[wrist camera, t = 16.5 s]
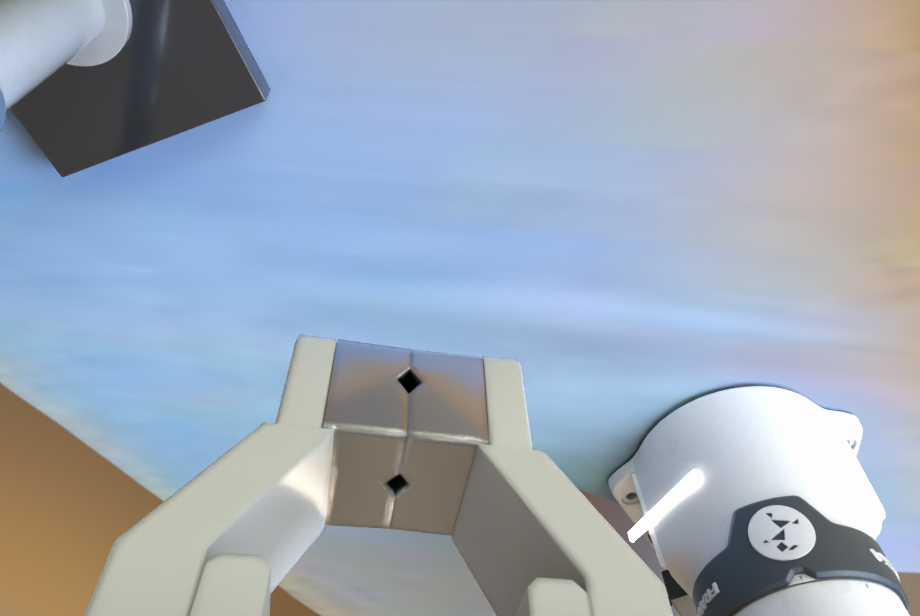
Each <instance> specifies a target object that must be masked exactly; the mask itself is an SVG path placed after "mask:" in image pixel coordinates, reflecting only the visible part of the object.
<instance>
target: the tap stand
mask: <svg viewBox="0 0 920 616" xmlns="http://www.w3.org/2000/svg"><path fill="white" fill-rule="evenodd" d="M0 87H1V89H2V92H3V95H4V99H5V104H6V111H7V110H8V109H10V110H11V111H12V113H13V114H14V115H15V116H16V118H17V119H18V120H19V122H20V123H21V124H22V126H23V127H24V128H25V130H26V131H27V132H28V133H29V135H30V136H31V137H32V139H33V140H34V141H35V143H36V144H37V145H38V147H39V148H40V149H41V150H42V152H43V153H44V154H45V156H46V157H47V158H48V160H49V161H50V162H51V164H52V165H53V166H54V167H55V169H56V170H57V171H58V173H59V174H60V175H61V176H62V177H65V176H68V175H71V174H73V173H76V172H78V171H81V170H84V169H86V168H89V167H92V166H94V165H97V164H100V163H102V162H105V161H108V160H110V159H113V158H116V157H118V156H121V155H123V154H126V153H129V152H131V151H134V150H137V149H139V148H142V147H145V146H147V145H150V144H153V143H155V142H158V141H161V140H163V139H166V138H168V137H171V136H174V135H176V134H179V133H182V132H184V131H187V130H190V129H192V128H195V127H198V126H200V125H203V124H205V123H208V122H211V121H213V120H216V119H219V118H221V117H224V116H227V115H229V114H232V113H235V112H237V111H240V110H243V109H245V108H248V107H250V106H253V105H256V104H258V103H261V102H264V101H265V100H266V99H267V97H268V95H269V93H270V88H269V86H268V84H267V82H266V80H265V79H264V77H263V75H262V73H261V71H260V69H259V67H258V65H257V63H256V61H255V60H254V58H253V56H252V54H251V52H250V50H249V48H248V46H247V44H246V42H245V41H244V39H243V37H242V35H241V33H240V31H239V29H238V27H237V25H236V23H235V22H234V20H233V18H232V16H231V14H230V12H229V10H228V8H227V6H226V4H225V3H224V1H223V0H0Z"/></svg>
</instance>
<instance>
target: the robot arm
mask: <svg viewBox="0 0 920 616" xmlns="http://www.w3.org/2000/svg"><path fill="white" fill-rule="evenodd" d="M862 434H863V428H862V426H861V424H860V422H859V420H858V418H857V417H856V416H854V415H852V414H849V413H845V412H840V411H834V410H827V409H824V408H822V407H820V406H818V405H816V404H815V403H813V402H812V401H811V400H809V399H808V398H806V397H804V396H802V395H800V394H798V393H795V392H793V391H790V390H786V389H782V388H777V387H768V386H747V387H738V388H731V389H726V390H722V391H718V392H715V393H711V394H708V395H705V396H703V397H700V398H698V399H695V400H693V401H691V402H689V403H687V404H685V405H683V406H681V407H680V408H678V409H676V410H675V411H673V412H672V413H670V414H669V415H668V416H666V417H665V418H664V419H662V420H661V421H660V422H659V423H658V424H657V425H656V426H655V427H654V428H653V429H652V430H651V431H650V432H649V434H648V435H647V436H646V438H645V439H644V441H643V442H642V444H641V446H640V447H639V449H638V451H637V453H636V454H635V455H634V457H633V458H632V459H631V460H630V461H628V462H627V463H626V464H624V465H623V466H622V467H620V468H619V469H618V470H617V471H616V472H614V473H613V474H612V475H611V477H610V478H609V480H608V484H609V487H610V490H611V492H612V494H613V496H614V497H615V499H616V500H617V501H618V503H619V504H620V505H621V507H622V508H623V509H624V511H625V512H626V514H627V515H628V516H629V518H630V519H631V520H632V521H633V523H634V524H635V526H634V527H633V528H632V529H631V530H630V531H629V532H628V535H629V539H630V541H631V542H635V541H636V540H637V539H638V538H639V537H640V536H641V535H643V537H644V538H645V539H646V541H647V542H648V543H649V545H650V546H651V548H652V549H653V550H654V551H655V553H656V554H657V557H658V560H659V563H660V565H661V567H662V568H663V569H666V570H665V571H662V575H663V579H664V582H665V585H664V584H663V583H662V581H661V580H660V579H659V578H658V577H657V576H656V575H655V574H654V573H653V572H652V570H651V569H650V568H649V567H648V566H647V565H646V564H645V563H644V562H643V560H642V559H641V558H640V557H639V556H638V555H637V554H636V553H635V552H634V551H633V549H632V548H631V547H630V546H629V545H628V544H627V543H626V542H625V541H624V540H623V538H622V537H621V536H620V535H619V534H618V533H617V532H616V531H615V529H614V528H613V527H612V526H611V525H610V524H609V523H608V522H607V521H606V520H605V518H604V517H603V516H602V515H601V514H600V513H599V512H598V511H597V510H596V508H594V506H593V505H592V504H591V503H590V502H589V501H588V500H587V499H586V497H585V496H584V495H583V494H582V493H581V492H580V491H579V490H578V489H577V487H576V486H575V485H574V484H573V483H572V482H571V481H570V480H569V479H568V478H567V476H566V475H565V474H564V473H563V472H562V471H561V470H560V469H559V468H558V466H557V465H556V464H555V463H554V462H553V461H552V460H551V459H550V458H549V457H548V455H547V454H546V453H545V452H544V451H542V450H533V449H532V443H531V436H530V429H529V422H528V414H527V407H526V400H525V393H524V386H523V379H522V372H521V365H520V363H519V362H518V361H517V360H514V359H503V358H493V357H481V358H480V357H476V356H466V355H457V354H448V353H439V352H430V351H421V350H411V349H404V348H397V347H390V346H383V345H375V344H368V343H361V342H354V341H346V340H339V339H338V342H337V340H335V339H327V338H320V337H313V336H305V335H299V337H298V339H297V340H296V342H295V346H294V350H293V354H292V358H291V363H290V367H289V371H288V375H287V379H286V383H285V387H284V391H283V395H282V399H281V403H280V407H279V411H278V415H277V419H276V423H275V424H274V423H263V424H261V425H260V426H259V427H258V428H256V429H255V430H254V431H253V432H251V433H250V434H249V435H247V436H246V437H245V438H244V439H242V440H241V441H240V442H239V443H237V444H236V445H235V446H234V447H232V448H231V449H230V450H229V451H227V452H226V453H225V454H223V455H222V456H221V457H220V458H218V459H217V460H216V461H215V462H213V463H212V464H211V465H210V466H208V467H207V468H206V469H205V470H203V471H202V472H201V473H199V474H198V475H197V476H196V477H194V478H193V479H192V480H191V481H189V482H188V483H187V484H186V485H184V486H183V487H182V488H181V489H179V490H178V491H177V492H175V493H174V494H173V495H172V496H170V497H169V498H168V499H167V500H165V501H164V502H163V503H162V504H161V505H159V506H158V507H157V508H155V509H154V510H153V511H151V512H150V513H149V514H148V515H146V516H145V517H144V518H143V519H141V520H140V521H139V522H138V523H136V524H135V525H134V526H133V527H131V528H130V529H129V530H128V531H126V532H125V533H124V534H122V535H121V536H120V537H119V538H117V539H116V540H115V541H114V544H113V546H112V549H111V551H110V553H109V556H108V558H107V560H106V563H105V565H104V568H103V570H102V573H101V575H100V577H99V579H98V582H97V584H96V587H95V589H94V592H93V594H92V596H91V599H90V601H89V603H88V606H87V608H86V611H85V613H84V615H83V616H270V594H271V593H272V591H273V590H274V589H275V588H276V587H277V585H278V584H279V583H280V582H281V581H282V579H283V578H284V577H285V576H286V575H287V573H288V572H289V571H290V570H291V569H292V567H293V566H294V565H295V564H296V563H297V561H298V560H299V559H300V558H301V557H302V555H303V554H304V553H305V552H306V551H307V549H308V548H309V547H310V546H311V545H312V543H313V542H314V541H315V540H316V539H317V537H318V536H319V535H320V534H321V533H322V531H323V530H324V529H325V525H336V526H353V527H370V528H388V529H397V530H406V531H415V532H424V533H433V534H442V535H451V536H452V540H453V542H454V543H455V545H456V547H457V548H458V550H459V552H460V554H461V555H462V557H463V559H464V560H465V562H466V564H467V565H468V567H469V569H470V571H471V572H472V574H473V576H474V577H475V579H476V581H477V582H478V584H479V586H480V588H481V589H482V591H483V593H484V594H485V596H486V598H487V599H488V601H489V603H490V605H491V606H492V608H493V610H494V611H495V613H496V615H497V616H673V613H672V610H671V606H672V605H673V606H674V607H675V609H676V610H677V611H678V613H679V614H680V616H910V615H909V613H908V607H909V602H908V598H907V595H906V593H905V591H904V590H903V588H902V586H901V584H900V582H899V581H900V578H899V576H898V574H897V572H896V570H895V569H894V567H893V565H892V564H891V562H890V561H889V560H888V559H887V558H886V556H885V555H884V553H883V551H882V550H881V548H880V546H879V545H878V543H877V542H876V538H877V537H878V535H879V533H880V531H881V528H882V521H883V520H884V519H885V512H884V509H883V507H882V505H881V503H880V501H879V499H878V497H877V495H876V493H875V492H874V490H873V488H872V486H871V484H870V482H869V480H868V479H867V477H866V475H865V473H864V471H863V469H862V467H861V466H860V464H859V462H858V460H857V458H856V455H857V452H858V448H859V445H860V441H861V438H862ZM389 527H390V528H389ZM665 586H666V588H665ZM666 589H667V591H666ZM667 593H668V595H667Z"/></svg>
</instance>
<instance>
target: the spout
mask: <svg viewBox="0 0 920 616" xmlns="http://www.w3.org/2000/svg"><path fill="white" fill-rule="evenodd" d="M5 117H6V104H5V99H4V95H3V92H2V89H1V87H0V131H1V129H2V127H3V125H4V121H5Z"/></svg>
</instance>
